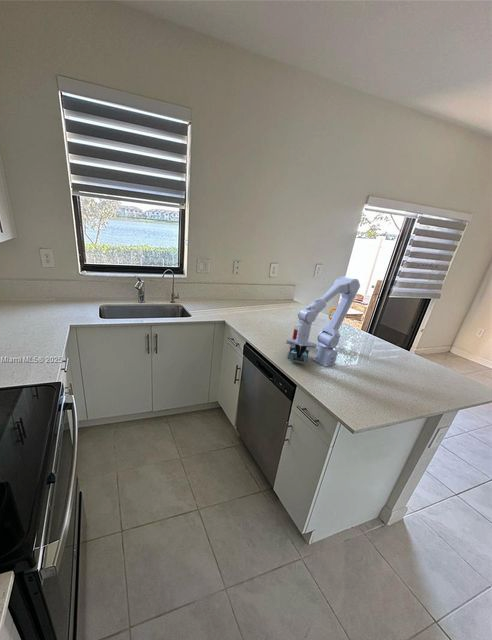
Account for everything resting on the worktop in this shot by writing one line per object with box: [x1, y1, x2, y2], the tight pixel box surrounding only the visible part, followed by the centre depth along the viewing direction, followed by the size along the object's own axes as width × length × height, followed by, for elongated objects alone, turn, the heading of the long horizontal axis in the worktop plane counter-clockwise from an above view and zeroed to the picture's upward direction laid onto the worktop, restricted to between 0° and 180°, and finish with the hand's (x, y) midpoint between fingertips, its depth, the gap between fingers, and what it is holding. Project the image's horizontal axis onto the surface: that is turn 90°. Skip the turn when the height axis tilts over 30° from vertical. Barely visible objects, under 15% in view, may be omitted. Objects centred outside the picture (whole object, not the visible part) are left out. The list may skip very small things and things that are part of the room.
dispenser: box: [287, 344, 310, 363], centre depth 156 cm, size 10×10×7 cm
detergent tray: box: [288, 349, 309, 364], centre depth 150 cm, size 13×8×5 cm, turn 165°
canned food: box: [291, 325, 299, 340], centre depth 170 cm, size 8×8×11 cm
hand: (298, 358), depth 146 cm, fingers closed, pressing on detergent tray
